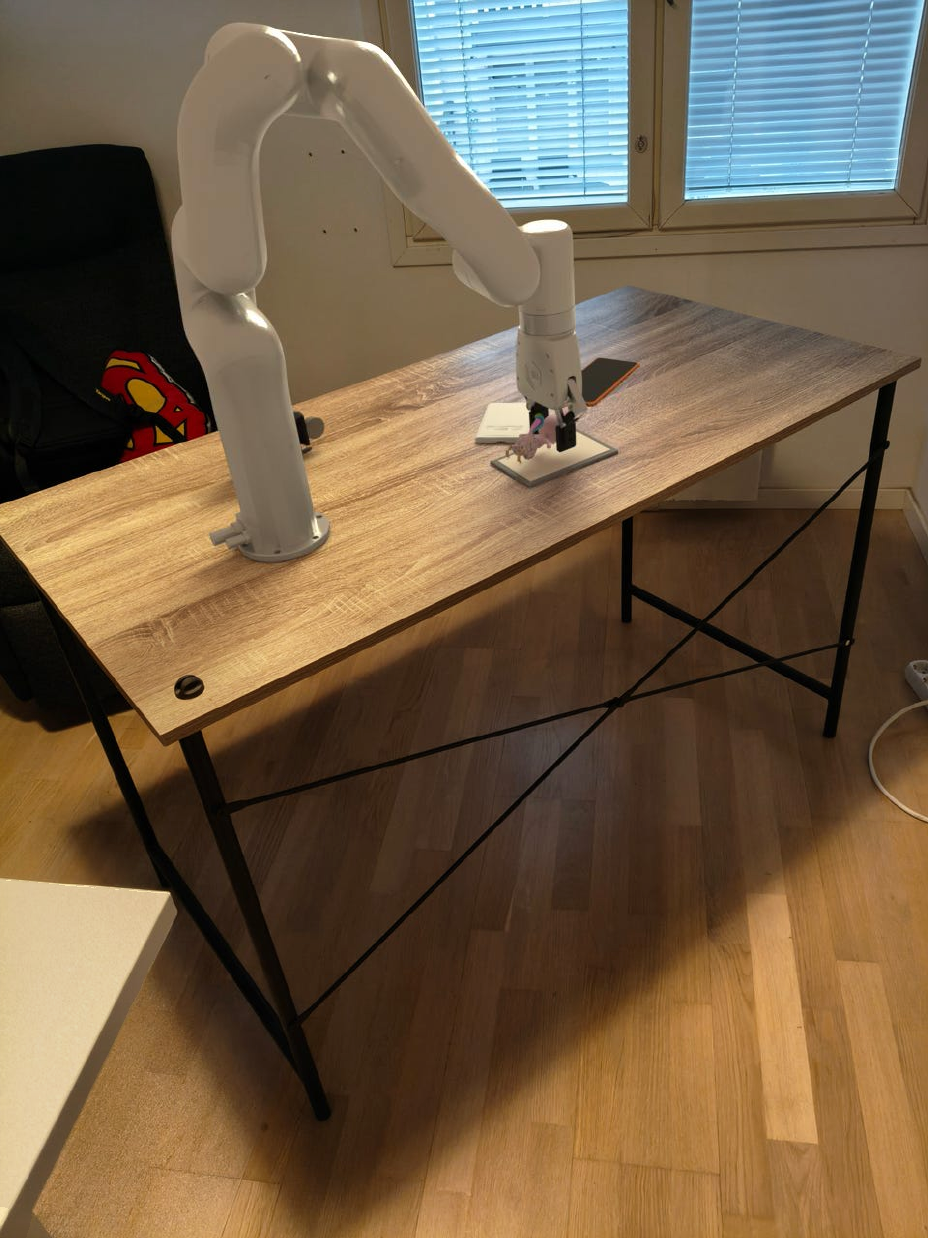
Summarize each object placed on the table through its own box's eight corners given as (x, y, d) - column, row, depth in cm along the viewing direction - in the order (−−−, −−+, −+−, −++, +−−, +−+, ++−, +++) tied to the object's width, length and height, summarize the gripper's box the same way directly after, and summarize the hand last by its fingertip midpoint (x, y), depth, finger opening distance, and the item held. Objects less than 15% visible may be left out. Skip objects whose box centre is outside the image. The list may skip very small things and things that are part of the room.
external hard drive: (538, 411, 156) (527, 446, 146) (489, 411, 158) (475, 446, 148) (538, 402, 155) (526, 436, 145) (488, 402, 157) (474, 436, 147)
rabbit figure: (530, 477, 135) (600, 424, 141) (522, 441, 131) (595, 388, 137) (499, 464, 139) (569, 413, 145) (491, 429, 135) (563, 378, 141)
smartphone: (640, 366, 166) (640, 361, 166) (593, 409, 154) (593, 403, 154) (597, 360, 170) (597, 355, 170) (547, 401, 158) (547, 396, 158)
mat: (529, 487, 134) (529, 484, 134) (490, 463, 141) (490, 460, 141) (618, 452, 140) (618, 449, 140) (576, 430, 147) (576, 427, 147)
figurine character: (300, 445, 156) (226, 474, 147) (295, 400, 152) (218, 426, 143) (329, 455, 153) (254, 485, 143) (324, 408, 149) (246, 436, 139)
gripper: (489, 312, 133) (499, 430, 144) (563, 343, 121) (568, 470, 132) (533, 298, 136) (539, 415, 147) (609, 327, 124) (610, 453, 135)
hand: (553, 440), depth 139 cm, fingers closed on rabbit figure, 5 cm apart
